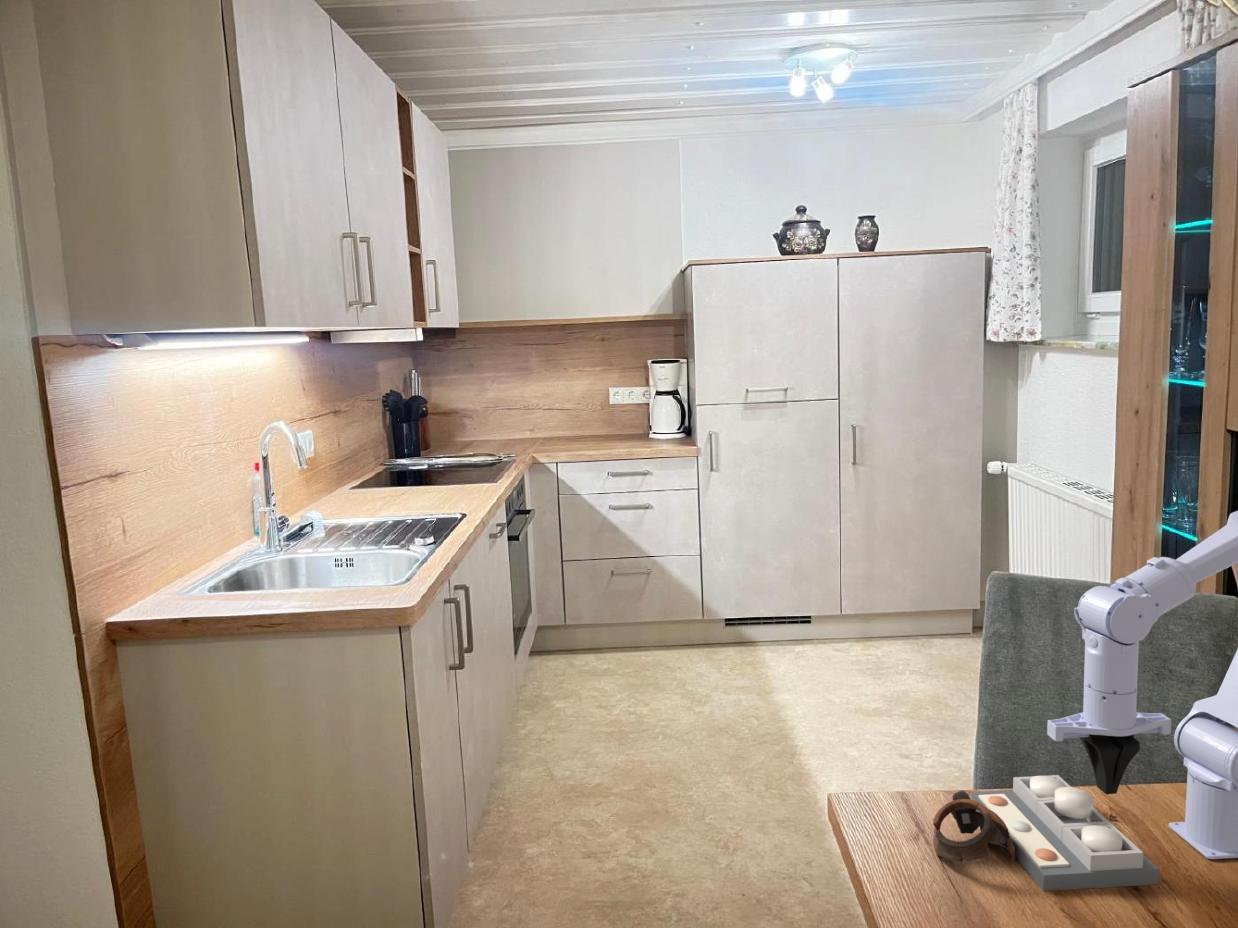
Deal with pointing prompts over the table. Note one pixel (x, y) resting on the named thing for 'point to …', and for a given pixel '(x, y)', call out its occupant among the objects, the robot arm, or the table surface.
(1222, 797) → the robot arm
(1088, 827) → the button
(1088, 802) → the button middle
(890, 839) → the table surface
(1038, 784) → the button
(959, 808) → the brown broken pot
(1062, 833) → the button board
